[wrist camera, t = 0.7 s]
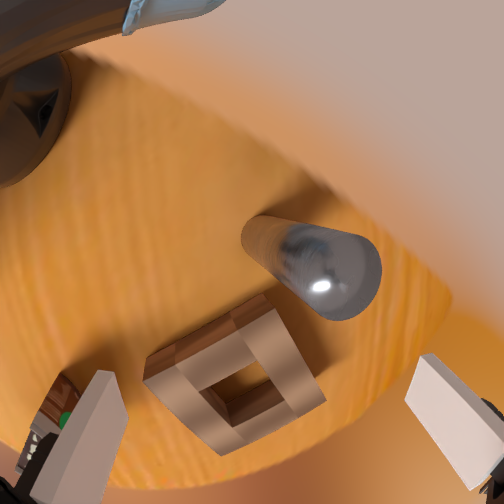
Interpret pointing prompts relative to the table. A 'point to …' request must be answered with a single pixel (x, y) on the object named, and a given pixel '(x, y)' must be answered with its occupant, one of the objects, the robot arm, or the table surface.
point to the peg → (316, 263)
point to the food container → (50, 416)
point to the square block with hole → (225, 364)
